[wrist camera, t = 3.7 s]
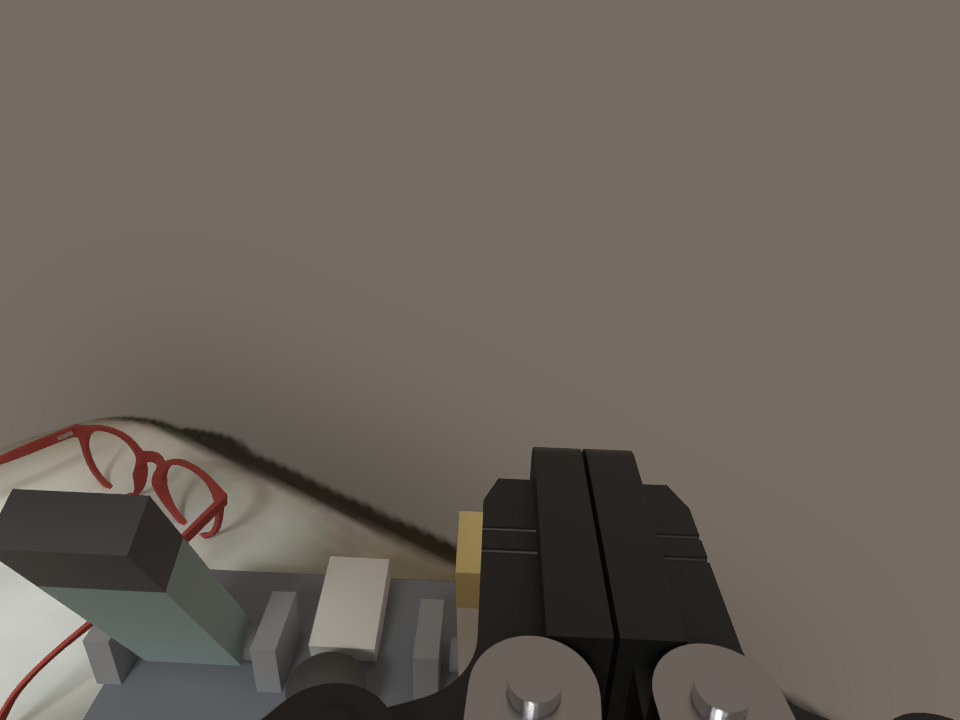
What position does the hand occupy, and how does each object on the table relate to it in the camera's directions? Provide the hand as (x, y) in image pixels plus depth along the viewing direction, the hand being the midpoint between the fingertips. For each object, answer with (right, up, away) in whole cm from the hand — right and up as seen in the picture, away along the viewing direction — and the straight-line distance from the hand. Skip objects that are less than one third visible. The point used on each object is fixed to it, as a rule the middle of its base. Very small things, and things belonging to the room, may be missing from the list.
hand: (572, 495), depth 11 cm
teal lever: (-13, -10, +18) cm, 24 cm away
